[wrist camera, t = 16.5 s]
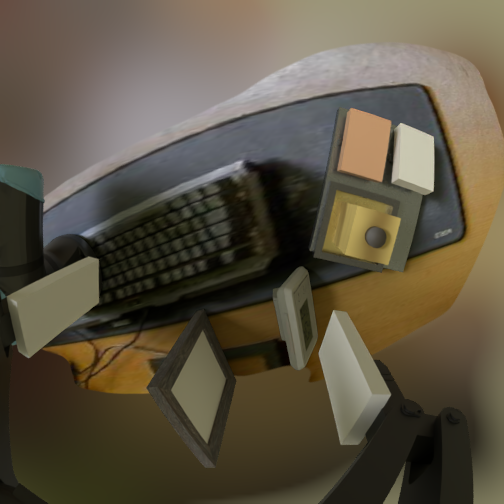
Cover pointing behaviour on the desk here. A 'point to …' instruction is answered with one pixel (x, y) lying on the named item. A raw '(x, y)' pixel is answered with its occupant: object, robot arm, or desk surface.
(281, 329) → the digital clock
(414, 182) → the rocker plain
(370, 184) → the panel
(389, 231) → the tan wooden block
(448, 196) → the desk surface
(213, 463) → the picture frame
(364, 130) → the orange tan rectangular block
